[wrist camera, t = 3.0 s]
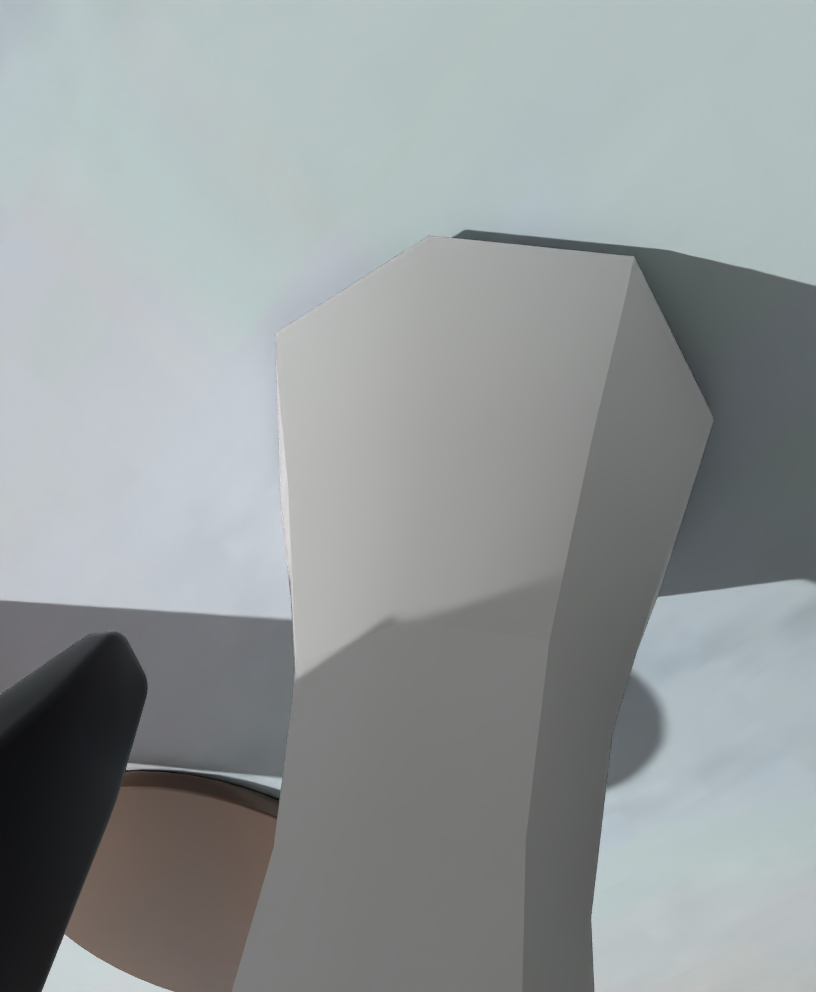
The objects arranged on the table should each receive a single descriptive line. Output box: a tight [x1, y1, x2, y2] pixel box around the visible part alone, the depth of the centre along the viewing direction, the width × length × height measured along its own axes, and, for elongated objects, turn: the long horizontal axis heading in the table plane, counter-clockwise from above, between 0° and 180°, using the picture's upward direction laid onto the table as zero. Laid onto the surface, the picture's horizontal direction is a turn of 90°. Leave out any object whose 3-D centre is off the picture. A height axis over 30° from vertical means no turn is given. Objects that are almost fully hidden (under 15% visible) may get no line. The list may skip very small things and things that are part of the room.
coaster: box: [64, 771, 279, 992], centre depth 22 cm, size 11×11×1 cm
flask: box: [232, 236, 714, 992], centre depth 9 cm, size 7×7×10 cm
